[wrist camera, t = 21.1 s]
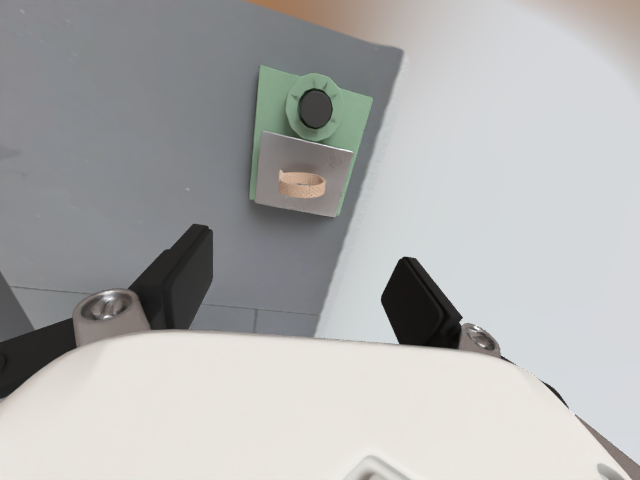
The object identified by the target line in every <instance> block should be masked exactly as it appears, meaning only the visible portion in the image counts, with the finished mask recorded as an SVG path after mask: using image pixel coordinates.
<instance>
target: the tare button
mask: <svg viewBox="0 0 640 480" xmlns="http://www.w3.org/2000/svg"><path fill="white" fill-rule="evenodd" d="M300 111H301V115H302V118H303V119H304V121H305V122H306V123H307V124H308V125H310V126H313V127H319V126H322V125H324V124H325V123H326V122H327V121H328V120H329V118H330V115H331V103H330V101H329V99H328V97H327V96H326V95H325V94H324V93H322V92H319V91H312V92H310V93H308V94H307V95H306V96H305V97H304V98H303V100H302V102H301V106H300Z"/></svg>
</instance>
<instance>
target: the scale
mask: <svg viewBox="0 0 640 480" xmlns="http://www.w3.org/2000/svg"><path fill="white" fill-rule="evenodd" d="M312 91H319V92H322V93H324V94H325V95H326V96H327V97H328V99H329V101H330V103H331V115H330V118H329V120H328V121H327V122H326V123H325V124H324V125H322V126H319V127H313V126H310V125H308V124H307V123H306V122H305V121H304V119H303V118H302V115H301V111H300V106H301V102H302V100H303V98H304V97H305V96H306V95H307V94H308V93H310V92H312ZM372 101H373V98H371V97H368V96H365V95H361V94H358V93H354V92H351V91H347V90H344V89H341V88H338V87H337V85H336V84H335V83H334V82H333V81H332V80H331V78H329V77H327V76H324V75H320V74H317V73H311V74H308V75H306V76H303V77H300V76H296V75H293V74H289V73H286V72H282V71H279V70H276V69H272V68H269V67H265V66H262V65H260V69H259V81H258V94H257V106H256V119H255V131H254V143H253V156H252V168H251V181H250V193H249V199H252V200H255V193H256V182H257V171H258V161H259V150H260V139H261V130H266V131H270V132H274V133H278V134H282V135H286V136H291V137H295V138H299V139H303V140H307V141H311V142H316V143H320V144H324V145H328V146H332V147H336V148H341V149H345V150H349V151H353V152H354V153H353V157H352V160H351V164H350V167H349V171H348V174H347V178H346V181H345V185H344V188H343V192H342V195H341V199H340V202H339V206H338V209H337V213H336V215H339V214H340V210H341V207H342V203H343V200H344V197H345V193H346V190H347V186H348V183H349V179H350V176H351V173H352V169H353V166H354V162H355V159H356V156H357V152H358V149H359V145H360V142H361V138H362V135H363V132H364V128H365V125H366V121H367V118H368V115H369V111H370V108H371V104H372Z"/></svg>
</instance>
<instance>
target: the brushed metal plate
mask: <svg viewBox="0 0 640 480" xmlns="http://www.w3.org/2000/svg"><path fill="white" fill-rule="evenodd" d="M353 153H354V152H353V151H349V150H345V149H341V148H336V147H332V146H328V145H324V144H320V143H316V142H311V141H307V140H303V139H299V138H295V137H291V136H286V135H282V134H278V133H274V132H270V131H266V130H261V139H260V150H259V161H258V171H257V182H256V193H255V203H258V204H263V205H269V206H274V207H280V208H285V209H291V210H296V211H302V212H308V213H313V214H319V215H324V216H330V217H335V216H336V213H337V209H338V206H339V202H340V199H341V195H342V192H343V188H344V185H345V181H346V178H347V174H348V171H349V167H350V164H351V160H352V157H353ZM280 170H282V171H283V173H288V172H289V173H290V172H298V173H299V172H302V173H310V174H315V175H318V176H321V177H323V178H324V179H325V180H326V185H325V192H324V194H323V195H321V196H319V197H313V198H298V197H291V196H288V195H284V194H282V196H280V195H279V171H280ZM300 175H301V174H300ZM293 180H294V179H293ZM290 184H296V185H309V184H303V182H302V184H301V183H290ZM295 192H296V190H295ZM303 194H304V193H303ZM300 196H301V195H300Z"/></svg>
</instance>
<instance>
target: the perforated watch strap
mask: <svg viewBox="0 0 640 480" xmlns="http://www.w3.org/2000/svg"><path fill="white" fill-rule="evenodd" d="M300 174H301V175H300ZM293 179H294V180H293ZM302 182H303V184H309V185H296V184H290V183H301V184H302ZM325 185H326V180H325V179H324V178H323V177H321V176H318V175H315V174H310V173H302V172H299V173H298V172H290V173H289V172H288V173H283V171H282V170H280V171H279V195H280V196H282V194H284V195H288V196H291V197H298V198H313V197H319V196H321V195H323V194H324V192H325ZM295 190H296V192H295ZM303 193H304V194H303ZM300 195H301V196H300Z"/></svg>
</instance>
